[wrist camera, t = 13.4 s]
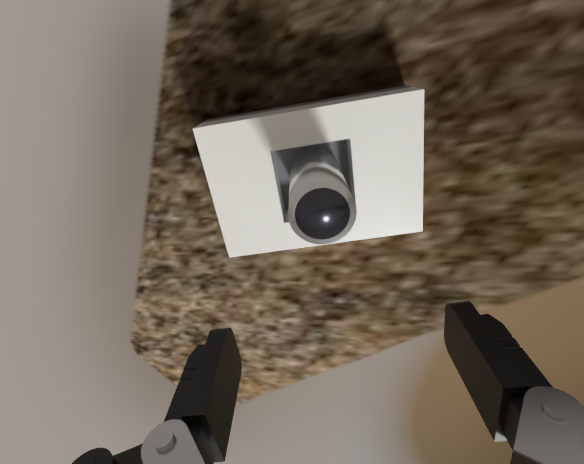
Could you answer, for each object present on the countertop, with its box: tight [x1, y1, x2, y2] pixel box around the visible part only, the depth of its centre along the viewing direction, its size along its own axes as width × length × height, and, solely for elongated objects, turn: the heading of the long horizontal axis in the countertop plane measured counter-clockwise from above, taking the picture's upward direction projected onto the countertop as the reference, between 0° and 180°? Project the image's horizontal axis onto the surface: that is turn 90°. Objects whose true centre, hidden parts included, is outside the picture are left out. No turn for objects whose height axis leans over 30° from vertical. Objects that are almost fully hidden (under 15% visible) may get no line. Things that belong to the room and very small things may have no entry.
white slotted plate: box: [193, 85, 424, 257], centre depth 31 cm, size 18×12×5 cm, turn 99°
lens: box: [288, 148, 357, 244], centre depth 26 cm, size 4×4×10 cm
